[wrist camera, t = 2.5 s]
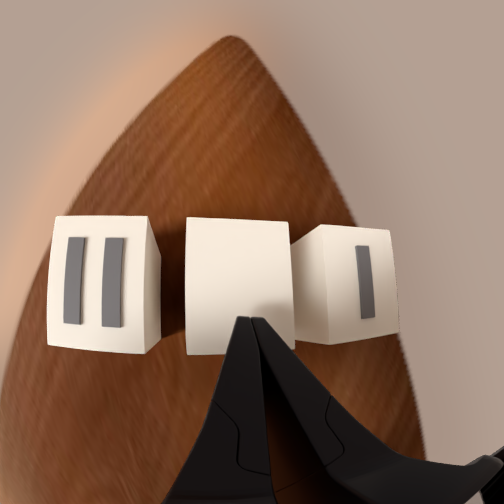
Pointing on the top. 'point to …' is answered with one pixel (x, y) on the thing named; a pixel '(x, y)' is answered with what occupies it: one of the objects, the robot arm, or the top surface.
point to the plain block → (235, 280)
